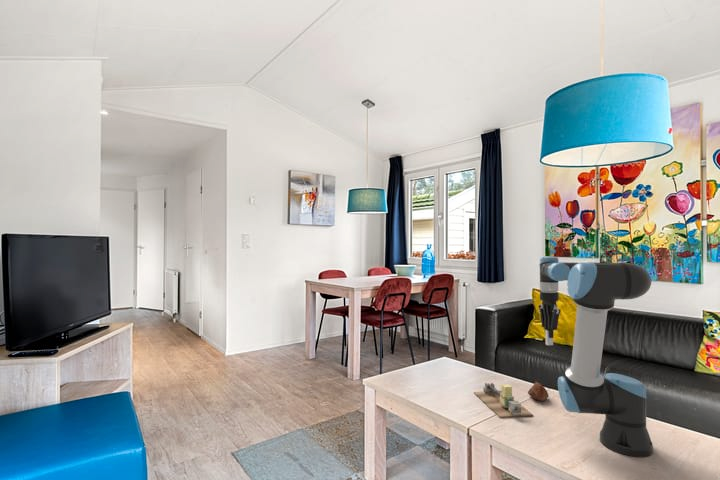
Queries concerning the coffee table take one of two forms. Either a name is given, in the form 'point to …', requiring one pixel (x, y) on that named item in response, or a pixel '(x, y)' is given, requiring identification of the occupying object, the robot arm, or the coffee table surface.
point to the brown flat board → (493, 402)
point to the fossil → (538, 392)
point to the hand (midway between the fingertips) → (549, 344)
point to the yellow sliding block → (506, 394)
